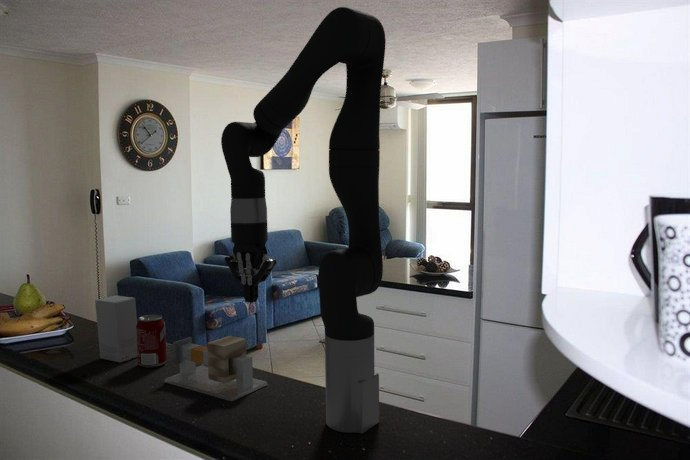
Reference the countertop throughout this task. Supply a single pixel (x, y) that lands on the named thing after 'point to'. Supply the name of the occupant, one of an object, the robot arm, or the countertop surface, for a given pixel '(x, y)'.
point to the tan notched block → (224, 357)
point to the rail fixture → (198, 376)
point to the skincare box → (117, 328)
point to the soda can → (151, 341)
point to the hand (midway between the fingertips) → (251, 301)
